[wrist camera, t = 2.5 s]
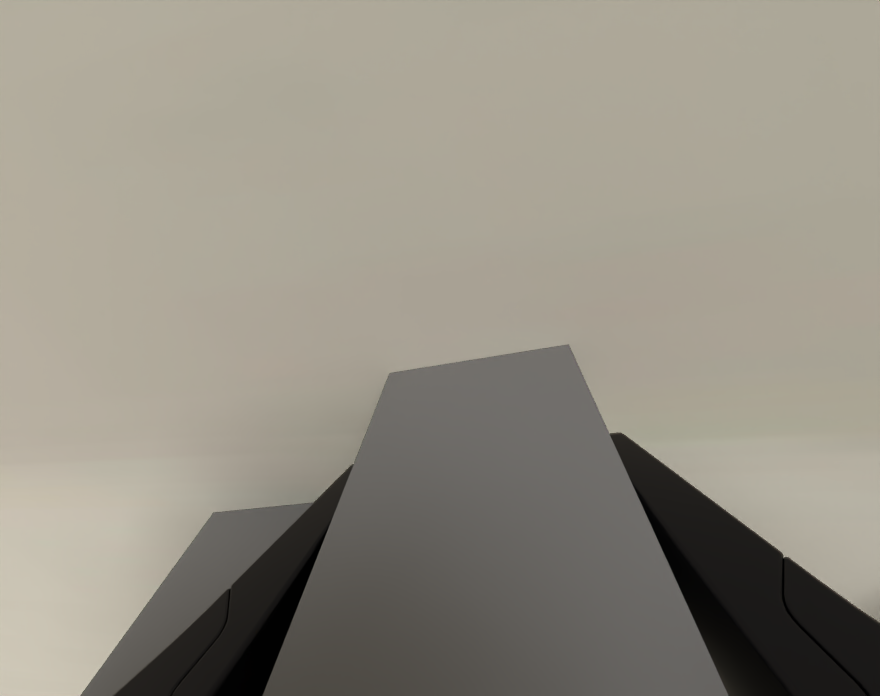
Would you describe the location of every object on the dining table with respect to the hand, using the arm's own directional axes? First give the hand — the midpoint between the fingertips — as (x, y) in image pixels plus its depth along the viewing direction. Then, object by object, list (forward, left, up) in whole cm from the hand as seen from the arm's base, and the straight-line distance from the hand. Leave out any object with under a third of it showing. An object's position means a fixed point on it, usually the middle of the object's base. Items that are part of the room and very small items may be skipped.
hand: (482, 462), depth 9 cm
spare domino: (0, 0, -3) cm, 3 cm away
